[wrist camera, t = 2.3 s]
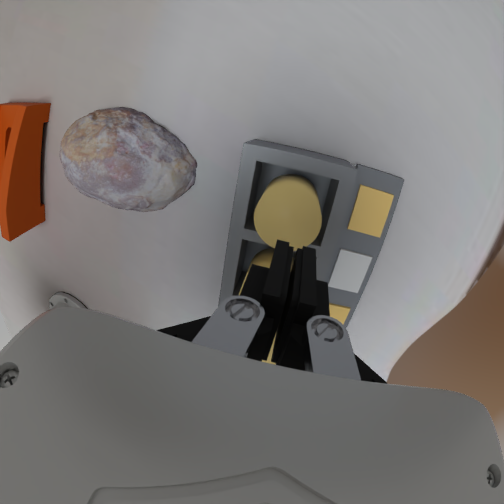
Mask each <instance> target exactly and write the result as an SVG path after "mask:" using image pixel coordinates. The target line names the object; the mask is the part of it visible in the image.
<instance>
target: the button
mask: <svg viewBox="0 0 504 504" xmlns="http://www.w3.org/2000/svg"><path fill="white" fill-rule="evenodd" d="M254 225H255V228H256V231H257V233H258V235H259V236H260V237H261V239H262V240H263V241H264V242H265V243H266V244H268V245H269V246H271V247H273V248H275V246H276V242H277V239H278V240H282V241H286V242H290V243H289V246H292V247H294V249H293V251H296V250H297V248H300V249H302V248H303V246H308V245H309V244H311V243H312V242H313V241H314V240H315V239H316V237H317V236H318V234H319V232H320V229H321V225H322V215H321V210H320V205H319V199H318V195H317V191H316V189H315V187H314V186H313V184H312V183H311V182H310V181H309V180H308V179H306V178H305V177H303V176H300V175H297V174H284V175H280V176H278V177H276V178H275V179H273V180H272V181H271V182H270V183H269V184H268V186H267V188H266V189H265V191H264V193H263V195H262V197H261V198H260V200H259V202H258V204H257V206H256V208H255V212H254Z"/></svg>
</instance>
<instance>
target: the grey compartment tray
mask: <svg viewBox="0 0 504 504" xmlns="http://www.w3.org/2000/svg"><path fill="white" fill-rule="evenodd" d="M357 172H358V170H357V169H356V168H355V167H354V166H353V165H351V164H350V163H349V162H348V161H346V160H343V159H339V158H335V157H332V156H328V155H324V154H320V153H316V152H312V151H308V150H304V149H300V148H296V147H291V146H287V145H282V144H277V143H272V142H267V141H262V140H257V139H254V140H251V141H248V142H245V143H244V144H243V150H242V155H241V161H240V167H239V173H238V179H237V185H236V191H235V197H234V203H233V210H232V216H231V222H230V229H229V235H228V242H227V249H226V255H225V262H224V269H223V276H222V283H221V290H220V298H219V305H220V304H221V303H222V302H223V301H224V300H225V299H226V298H229V297H231V296H239V293H240V290H241V287H242V284H243V282H244V279H245V276H246V274H247V271H248V268H249V266H250V263H251V261H252V259H253V257H254V256H255V255H256V254H257V253H258V252H260V251H262V250H264V249H268V248H273V247H271V246H269V245H268V244H266V243H265V242H264V241H263V240H262V239H261V237H260V236H259V235H258V233H257V231H256V228H255V225H254V212H255V208H256V206H257V204H258V202H259V200H260V198H261V197H262V195H263V193H264V191H265V189H266V188H267V186H268V184H269V183H270V182H271V181H272V180H273V179H275V178H276V177H278V176H280V175H284V174H297V175H300V176H303V177H305V178H306V179H308V180H309V181H310V182H311V183H312V184H313V186H314V187H315V189H316V191H317V195H318V199H319V205H320V210H321V215H322V225H321V229H320V232H319V234H318V236H317V237H316V239H315V240H314V241H313V242H312V243H311V244H309V245H308V246H306V247H310V248H314V249H316V278H317V280H320V281H324V278H325V275H326V272H327V269H328V267H329V264H330V261H331V258H332V255H333V252H334V249H335V246H336V243H337V240H338V236H339V233H340V230H341V227H342V224H343V221H344V217H345V214H346V211H347V207H348V204H349V200H350V197H351V193H352V190H353V186H354V183H355V179H356V175H357ZM296 251H297V250H296ZM296 251H293V257H294V258H295V255H296ZM219 305H218V307H219Z"/></svg>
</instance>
